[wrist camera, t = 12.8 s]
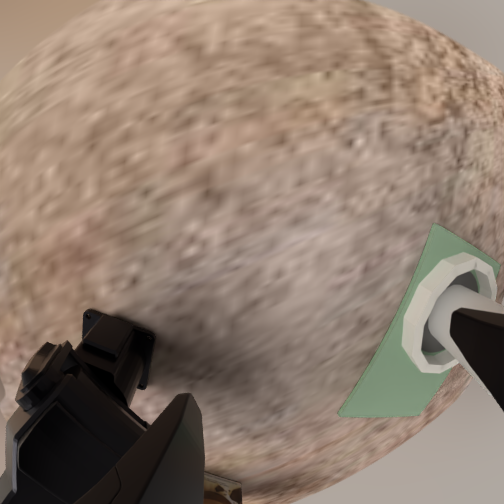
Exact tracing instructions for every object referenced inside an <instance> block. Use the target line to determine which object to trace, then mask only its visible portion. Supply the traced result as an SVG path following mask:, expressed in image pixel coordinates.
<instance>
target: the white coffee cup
mask: <svg viewBox="0 0 504 504" xmlns="http://www.w3.org/2000/svg"><path fill="white" fill-rule="evenodd" d="M461 307H463V308H469V309H475V310H482V311H488V312H494V313H501V314H504V306H503V305H501V304H499V303H497V302H495V301H493V300H491V299H489V298H487V297H485V296H483V295H481V294H479V293H477V292H474V291H472V290H470V289H468V288H466V287H464V286H462V285H452V286H450V287H448V288H447V289H445V290H444V291H443V292H442V293H441V295H440V296H439V297H438V298H437V300H436V302H435V304H434V306H433V309H432V311H431V313H430V315H429V318H428V328H429V331H430V333H431V335H432V336H433V337H434V338H435V339H436V340H437V341H438V342H439V343H440V344H441V345H442V346H443V347H444V348H445V349H446V350H447V351H448V352H449V353H450V354H451V355H452V356H453V357H454V358H455V359H456V360H457V361H458V362H459V363H460V364H461V365H462V366H463V367H464V368H465V369H466V370H467V371H468V372H469V374H470V375H471V376H472V377H473V378H474V379H475V380H476V381H477V382H478V383H479V384H480V385H481V386H482V388H483V389H484V390H485V391H486V392H487V393H488V394H489V395H490V396H492V395H491V393H490V392H489V390H488V389H487V388H486V386H485V385H484V384H483V382H482V381H481V380H480V379H479V377H478V376H477V375H476V373H475V372H474V371H473V370H472V368H471V367H470V365H469V364H468V362H467V361H466V359H465V358H464V356H463V355H462V353H461V352H460V350H459V349H458V347H457V346H456V344H455V343H454V341H453V340H452V338H451V336H450V333H449V330H450V322H451V314H452V312H453V311H455V310H457V309H459V308H461Z"/></svg>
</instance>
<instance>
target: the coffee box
mask: <svg viewBox="0 0 504 504" xmlns="http://www.w3.org/2000/svg"><path fill="white" fill-rule="evenodd" d="M203 504H242V491H241V483H238V482H234V481H231V480H228V479H224V478H221V477H218V476H215V475H212V474H209V473H206V472H204V496H203Z"/></svg>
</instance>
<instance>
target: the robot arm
mask: <svg viewBox="0 0 504 504" xmlns="http://www.w3.org/2000/svg"><path fill="white" fill-rule="evenodd" d="M88 314H89V315H90V316H91V317H89V316H88ZM449 333H450V336H451V338H452V340H453V341H454V343H455V344H456V346H457V347H458V349H459V350H460V352H461V353H462V355H463V356H464V358H465V359H466V361H467V362H468V364H469V365H470V367H471V368H472V370H473V371H474V372H475V373H476V375H477V376H478V377H479V379H480V380H481V381H482V382H483V384H484V385H485V386H486V388H487V389H488V390H489V392H490V393H491V395H492V396H493V397H494V399H495V400H496V401H497V403H498V404H499V406H500V407H501V408H502V410H503V411H504V314H501V313H494V312H488V311H482V310H475V309H469V308H463V307H461V308H459V309H457V310H455V311H453V312H452V314H451V322H450V330H449ZM147 336H149V337H151V338H152V339H149V338H148V337H147ZM155 340H156V336H155V334H154V333H153V332H151V331H148V330H145V329H142V328H139V327H136V326H133V325H131V324H130V323H127V322H124V321H121V320H118V319H116V318H113V317H110V316H108V315H103V314H101V313H98V312H96V311H93V310H90V309H87V310H86V311H85V312H84V314H83V331H82V341H81V343H80V344H79V345H78V346H77V348H76V349H75V350H73V348H72V347H73V346H72V345H71V344H70V343H69V341H68V340H67V341H66V342H64V343H63V344H59V345H53V344H51V343H49V342H46V343H45V344H44V345H43V346H42V347H41V348H40V349H39V350H38V351H37V352H36V353H35V354H34V355H33V357H32V358H31V359H30V360H29V362H28V364H27V365H26V367H25V368H24V370H23V372H22V380H21V383H20V386H19V388H18V391H17V394H16V398H15V401H16V402H17V403H18V404H19V405H20V406H19V407H18V409H17V410H16V411H15V412H14V414H13V415H12V416H11V418H10V419H9V420H8V422H7V425H6V451H5V453H6V470H5V471H4V473H3V474H2V476H1V477H0V504H203V496H204V468H205V451H204V439H203V426H202V415H201V411H200V409H199V407H198V405H197V403H196V401H195V399H194V397H193V395H192V394H191V393H183V394H178V395H177V396H176V397H175V398H174V399H173V400H172V402H171V403H170V404H169V405H168V406H167V407H166V408H165V410H164V411H163V412H162V413H161V414H160V415H159V417H158V418H157V419H156V420H155V421H154V422H153V423H152V425H150V424H149V423H147V422H146V421H143V420H142V419H141V418H140V417H139V416H137V415H136V414H135V413H134V412H133V411H132V410H131V409H130V408H129V407H130V405H131V402H132V399H133V397H134V394H135V391H136V389H140V390H145V389H146V387H147V384H148V378H149V372H150V366H151V361H152V356H153V350H154V345H155ZM141 384H142V385H141Z"/></svg>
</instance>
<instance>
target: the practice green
mask: <svg viewBox="0 0 504 504" xmlns="http://www.w3.org/2000/svg"><path fill="white" fill-rule="evenodd" d="M500 266H501V265H500V264H499V263H498V262H496V261H495V260H493V259H492V258H490V257H489V256H487V255H486V254H484V253H483V252H481V251H480V250H478V249H477V248H475V247H474V246H472V245H471V244H469V243H468V242H466V241H464V240H463V239H461V238H460V237H458V236H456V235H455V234H453V233H451V232H450V231H448V230H446V229H445V228H443V227H441V226H439V225H438V224H435V223H433V225H432V228H431V231H430V234H429V237H428V240H427V242H426V245H425V248H424V250H423V253H422V256H421V258H420V261H419V263H418V266H417V268H416V271H415V273H414V276H413V278H412V280H411V283H410V285H409V287H408V290H407V292H406V294H405V296H404V298H403V301H402V303H401V305H400V307H399V309H398V311H397V313H396V315H395V317H394V319H393V321H392V323H391V325H390V327H389V329H388V331H387V333H386V335H385V337H384V339H383V340H382V342H381V344H380V346H379V348H378V350H377V351H376V353H375V355H374V357H373V358H372V360H371V362H370V363H369V365H368V367H367V368H366V370H365V372H364V373H363V375H362V377H361V378H360V380H359V381H358V383H357V385H356V386H355V388H354V389H353V391H352V392H351V394H350V395H349V397H348V398H347V400H346V401H345V403H344V404H343V406H342V407H341V409H340V410H339V411H338V416H339V417H365V418H372V417H405V416H419V415H420V414H421V412H422V411H423V410H424V408H425V407H426V406H427V404H428V403H429V402H430V400H431V399H432V397H433V396H434V395H435V393H436V392H437V390H438V389H439V387H440V386H441V384H442V383H443V381H444V380H445V378H446V377H447V375H448V374H449V372H450V370H451V369H452V367H453V366H455V365H457V364H458V363H459V362H458V361H457V360H456V359H455V358H454V357H453V356H452V355H451V354H450V353H449V352H448V351H447V350H446V349H445V348H444V347H443V346H442V345H441V344H440V343H439V342H438V341H437V340H436V339H435V338H434V337H433V336H432V335H431V333H430V331H429V328H428V318H429V315H430V313H431V311H432V309H433V306H434V304H435V302H436V300H437V298H438V297H439V296H440V295H441V293H442V292H443V291H444V290H445V289H447V288H448V287H450V286H452V285H462V286H464V287H466V288H468V289H470V290H472V291H474V292H477V293H479V294H481V295H483V296H485V297H487V298H489V299H491V300H493V301H495V300H496V294H497V284H496V277H497V275H498V272H499V269H500Z"/></svg>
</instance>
